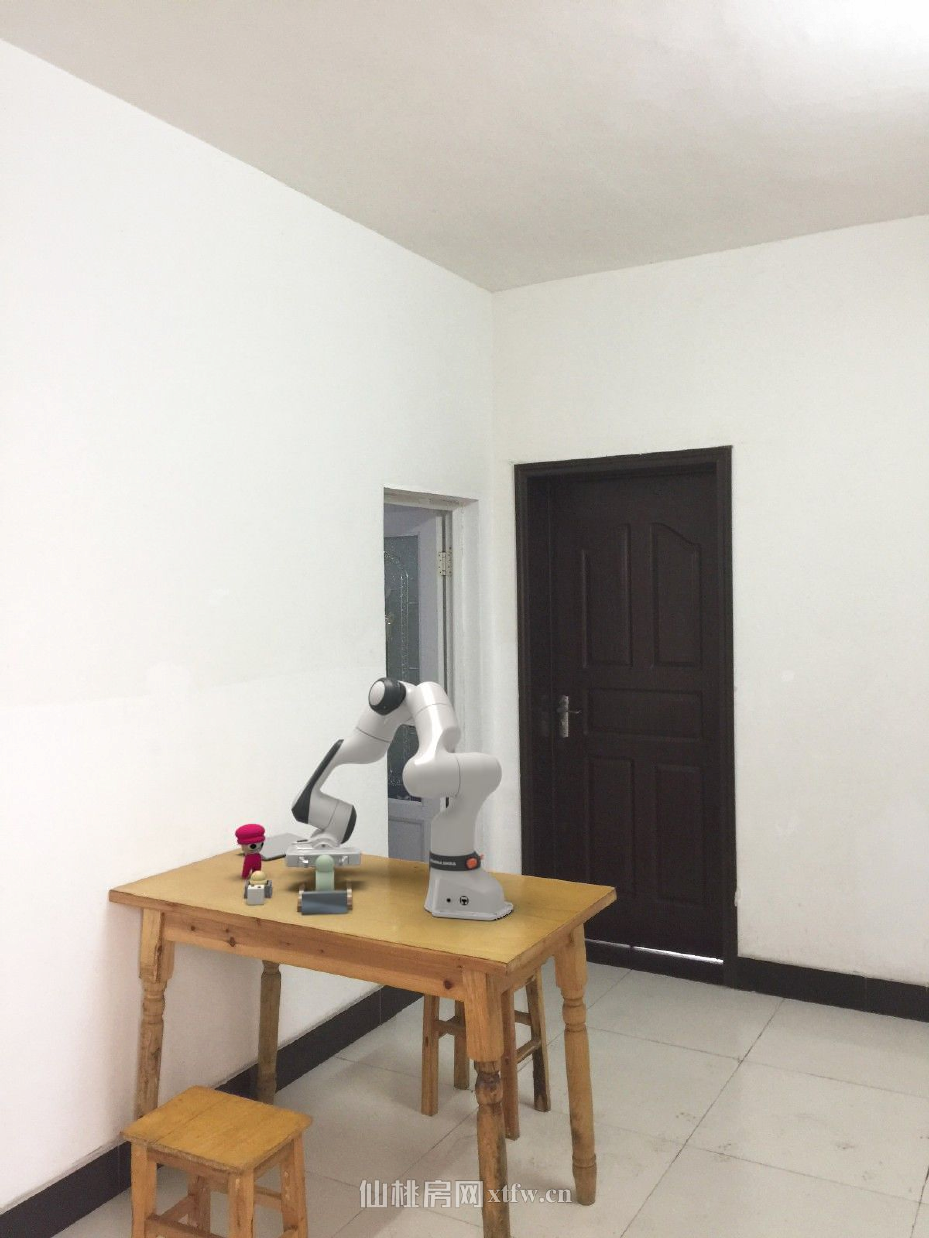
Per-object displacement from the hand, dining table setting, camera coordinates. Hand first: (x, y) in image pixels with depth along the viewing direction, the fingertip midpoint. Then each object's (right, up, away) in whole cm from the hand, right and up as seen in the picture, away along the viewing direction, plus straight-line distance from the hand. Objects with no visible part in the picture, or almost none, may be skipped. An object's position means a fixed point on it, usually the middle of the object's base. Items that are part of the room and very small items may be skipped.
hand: (323, 864), depth 277 cm
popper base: (-17, -8, +1) cm, 19 cm away
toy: (-23, -8, +19) cm, 31 cm away
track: (+1, -8, -4) cm, 9 cm away
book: (-21, -8, +49) cm, 54 cm away
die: (-16, -8, -7) cm, 19 cm away
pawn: (+2, -8, -9) cm, 13 cm away
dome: (-17, -6, +1) cm, 18 cm away
